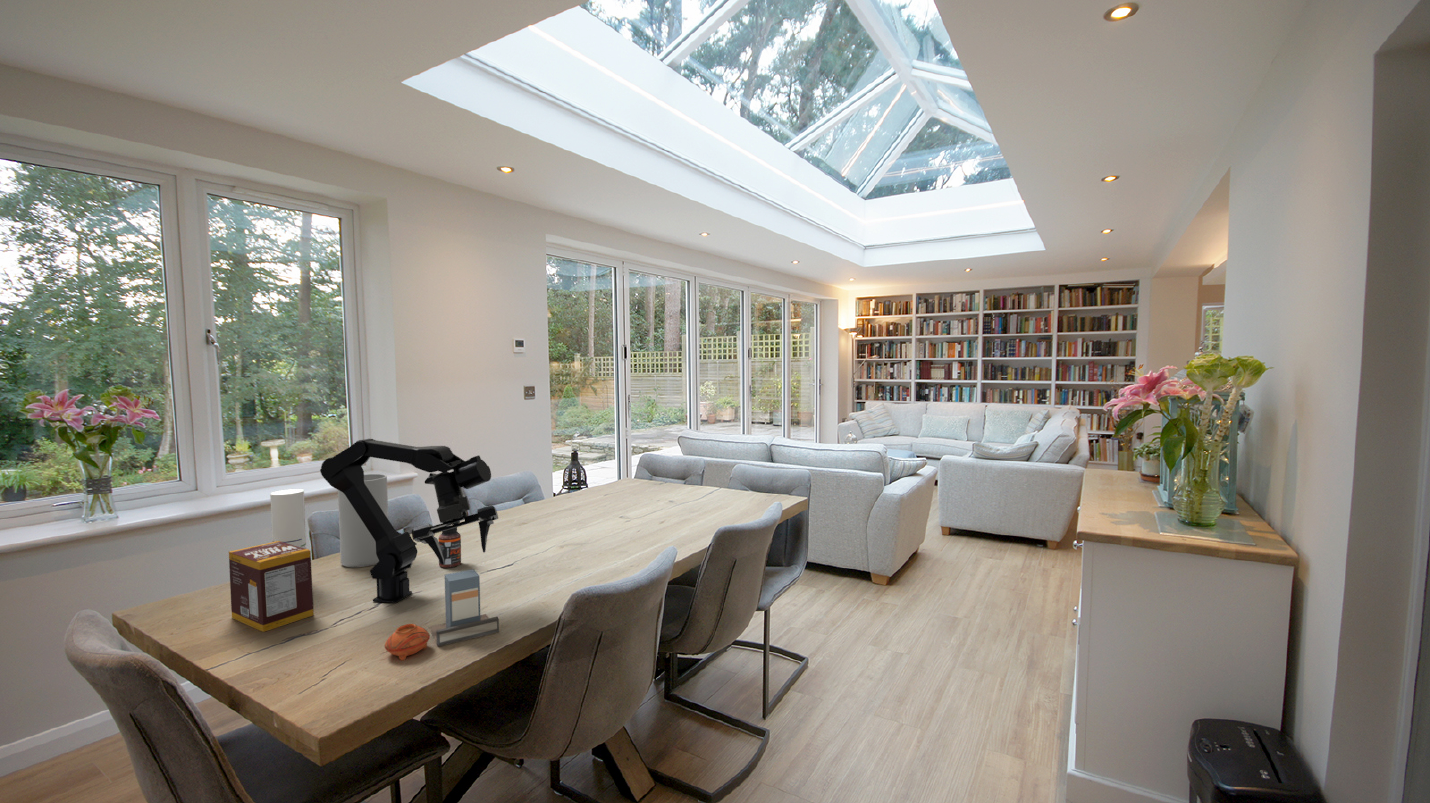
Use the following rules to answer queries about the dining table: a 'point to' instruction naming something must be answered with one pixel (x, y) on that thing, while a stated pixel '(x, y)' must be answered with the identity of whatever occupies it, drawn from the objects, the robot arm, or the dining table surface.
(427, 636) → the pot
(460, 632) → the plate
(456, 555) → the supplement bottle
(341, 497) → the cylinder vase
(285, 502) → the cylindrical container
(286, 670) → the dining table surface
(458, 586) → the blue-grey carton
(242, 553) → the supplement box
